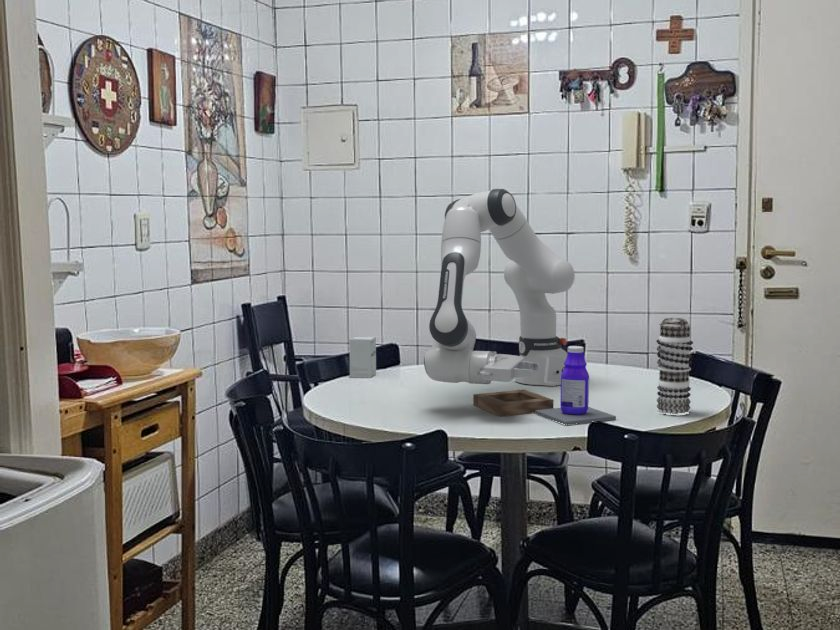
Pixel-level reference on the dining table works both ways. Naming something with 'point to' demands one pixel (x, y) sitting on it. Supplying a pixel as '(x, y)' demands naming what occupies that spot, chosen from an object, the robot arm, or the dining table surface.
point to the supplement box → (362, 357)
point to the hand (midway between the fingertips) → (535, 369)
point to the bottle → (575, 383)
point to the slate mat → (575, 416)
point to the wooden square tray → (512, 402)
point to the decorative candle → (674, 366)
